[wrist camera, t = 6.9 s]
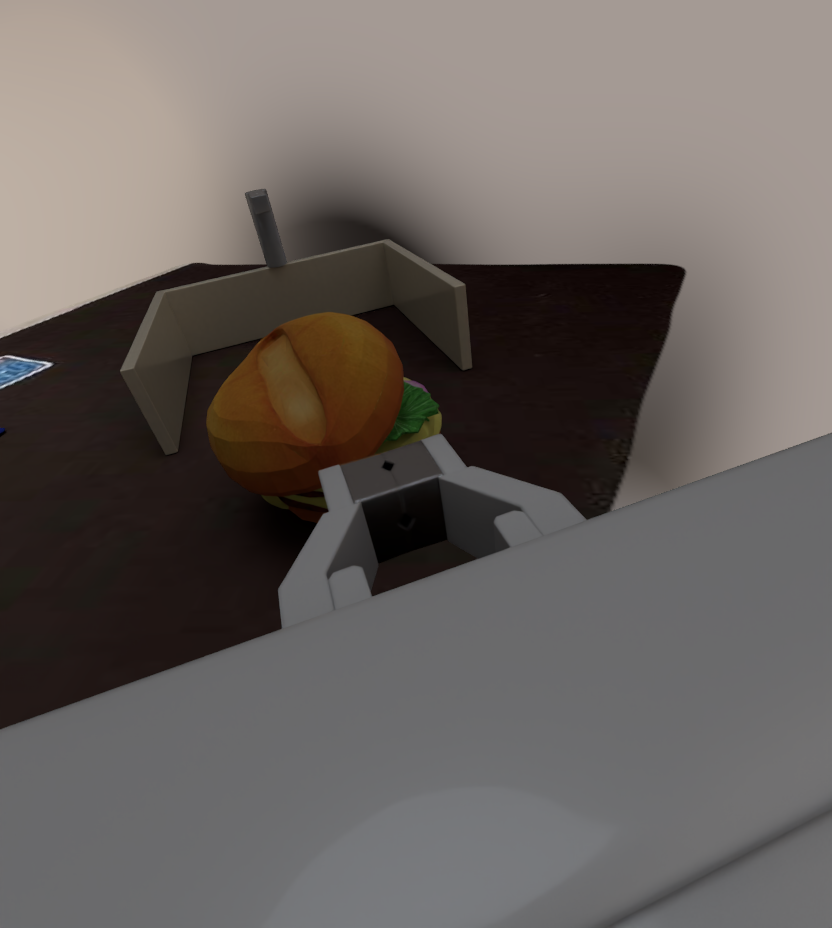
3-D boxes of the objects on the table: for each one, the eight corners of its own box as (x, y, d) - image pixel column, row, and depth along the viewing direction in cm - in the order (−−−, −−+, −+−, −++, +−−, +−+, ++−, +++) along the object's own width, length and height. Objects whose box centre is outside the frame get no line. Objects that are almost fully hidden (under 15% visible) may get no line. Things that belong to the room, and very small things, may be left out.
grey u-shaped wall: (472, 368, 35) (456, 178, 28) (165, 455, 31) (59, 262, 24) (397, 299, 51) (375, 166, 44) (185, 353, 47) (123, 216, 40)
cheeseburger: (492, 439, 27) (455, 276, 20) (390, 603, 22) (293, 466, 15) (355, 405, 32) (287, 266, 25) (249, 532, 28) (127, 405, 20)
